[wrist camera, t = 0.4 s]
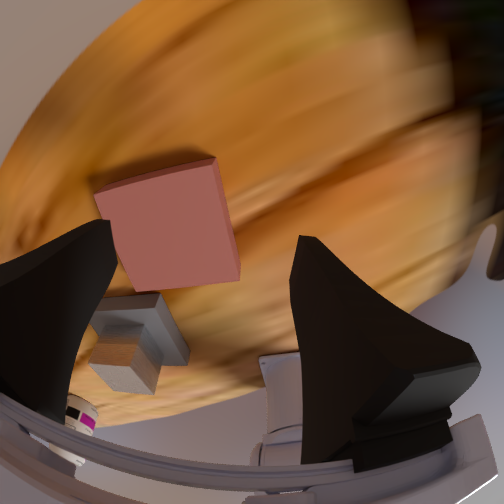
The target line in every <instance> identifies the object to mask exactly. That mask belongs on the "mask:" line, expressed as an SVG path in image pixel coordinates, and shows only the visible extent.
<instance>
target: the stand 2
mask: <svg viewBox="0 0 504 504" xmlns="http://www.w3.org/2000/svg"><path fill="white" fill-rule="evenodd" d="M89 323H90V324H91V326H92V327H93V329H94V330H95V331H96V333H97V334H98V335H99V336H100V334H101V332H102V330H103V328H104V326H105V325H136V324H145V326H146V327H147V329H148V331H149V332H150V334H151V335H152V337H153V339H154V340H155V342H156V343H157V345H158V347H159V348H160V350H161V351H162V353H163V354H164V358H163V362H162V366H188V361H189V356H190V350H189V348H188V346H187V344H186V343H185V341H184V339H183V337H182V335H181V333H180V331H179V329H178V327H177V326H176V324H175V322H174V320H173V318H172V316H171V314H170V312H169V310H168V308H167V306H166V304H165V301H164V299H163V297H162V295H161V293H156V294H145V295H134V296H121V297H109V298H102V299H101V301H100V303H99V305H98V306H97V308H96V310H95V312H94V314H93V316H92V318H91V320H90V322H89Z"/></svg>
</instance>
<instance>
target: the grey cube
mask: <svg viewBox="0 0 504 504" xmlns="http://www.w3.org/2000/svg"><path fill="white" fill-rule="evenodd" d="M163 358H164V354H163V353H162V351H161V350H160V348H159V347H158V345H157V343H156V342H155V340H154V339H153V337H152V335H151V334H150V332H149V331H148V329H147V327H146V326H145V324H136V325H105V326H104V328H103V330H102V332H101V334H100V336H99V339H98V341H97V343H96V345H95V347H94V350H93V352H92V354H91V356H90V359H89V361H88V364H89V365H90V366H91V368H92V369H93V370H94V371H95V372H96V373H97V374H98V375H99V376H100V377H101V378H102V379H103V380H104V381H105V382H106V383H107V384H108V386H109V387H110V388H111V389H112V390H113V391H119V392H128V393H137V394H148V395H154V394H155V390H156V386H157V382H158V378H159V374H160V370H161V366H162V362H163Z"/></svg>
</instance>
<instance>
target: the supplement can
mask: <svg viewBox="0 0 504 504" xmlns="http://www.w3.org/2000/svg"><path fill="white" fill-rule="evenodd" d="M97 417H98V411H97V409H96V408H95V406H93V405H92V404H91V403H89V402H88V401H86V400H84V399H82V398H80V397H77V396H75V395H69V396H67V405H66V416H65V425H64V426H66V427H69V428H71V429H74V430H76V431H79V432H81V433H84V434H87V435H89V436H92V434H93V430H94V427H95V423H96V420H97ZM49 448H50V450H51V451H53V452H55V453H56V454H58V455H59V456H61V457H63V458H65V459H67V460H68V461H70V462H72V463H74V464H75V465H77V466H79V467H81V465H82V464H83V463H85V460H86V459H84V458H82V457H79V456H77V455H75V454H72V453H70V452H68V451H65V450H63V449H61V448H59V447H57V446H55V445H53V444H51V443H49Z"/></svg>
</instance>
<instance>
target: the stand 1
mask: <svg viewBox="0 0 504 504" xmlns="http://www.w3.org/2000/svg"><path fill="white" fill-rule="evenodd" d="M94 198H95V201H96V203H97V206H98V209H99V211H100V214H101V216H102V219H104V220H110V222H111V229H112V235H113V240H114V246H115V249H116V251H117V254H118V256H119V258H120V260H121V262H122V264H123V266H124V268H125V270H126V273H127V275H128V277H129V279H130V281H131V283H132V285H133V287H134V289H135V290H136V292H140V291H151V290H161V289H171V288H180V287H190V286H199V285H208V284H217V283H225V282H234V281H240V269H241V264H240V260H239V256H238V251H237V247H236V243H235V238H234V234H233V230H232V225H231V221H230V217H229V212H228V208H227V203H226V199H225V195H224V190H223V186H222V181H221V177H220V172H219V168H218V163H217V159H216V157H215V158H210V159H205V160H200V161H195V162H191V163H186V164H182V165H178V166H173V167H169V168H165V169H161V170H157V171H153V172H149V173H145V174H142V175H138V176H135V177H131V178H127V179H124V180H121V181H117V182H114V183H111V184H107V185H105V186H104V187H103V188H101V189H100V190H99V191H98V192H96V193H95V194H94Z"/></svg>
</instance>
